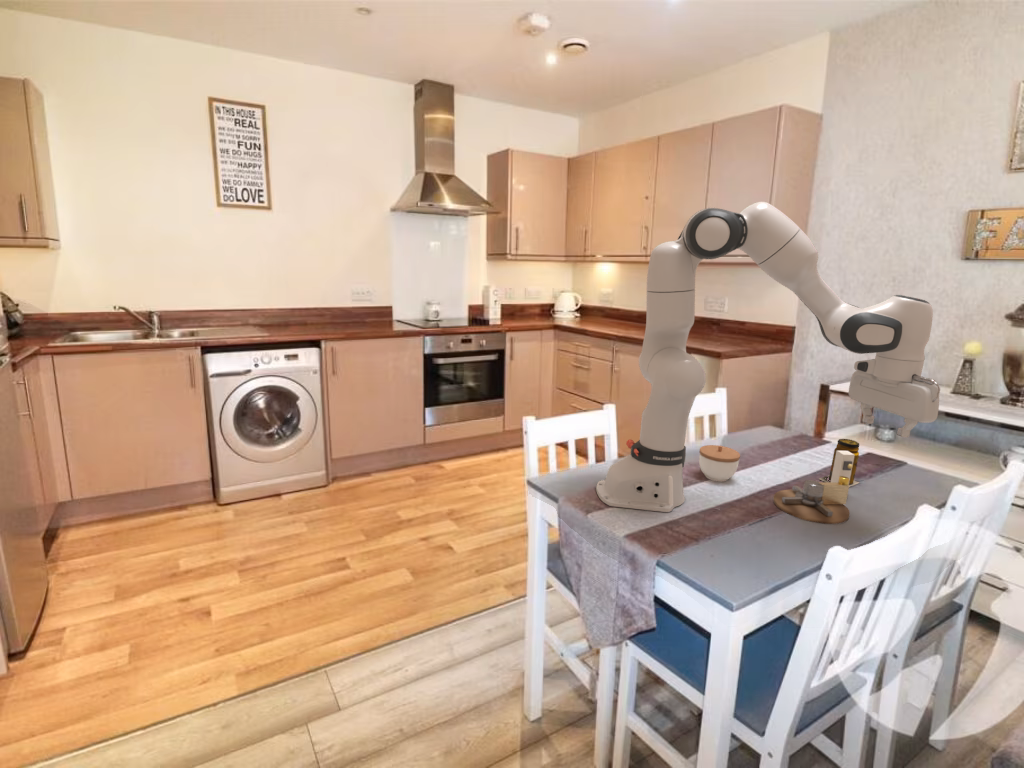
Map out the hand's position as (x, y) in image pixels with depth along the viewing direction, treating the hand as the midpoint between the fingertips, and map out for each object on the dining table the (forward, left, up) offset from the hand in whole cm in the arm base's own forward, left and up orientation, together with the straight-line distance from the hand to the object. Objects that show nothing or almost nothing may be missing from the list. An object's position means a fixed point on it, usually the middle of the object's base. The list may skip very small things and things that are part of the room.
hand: (884, 429), depth 124 cm
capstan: (-7, +9, -23) cm, 26 cm away
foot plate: (-8, +9, -24) cm, 27 cm away
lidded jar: (-25, +27, -24) cm, 44 cm away
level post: (+4, +17, -24) cm, 30 cm away
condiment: (+10, +26, -24) cm, 37 cm away
